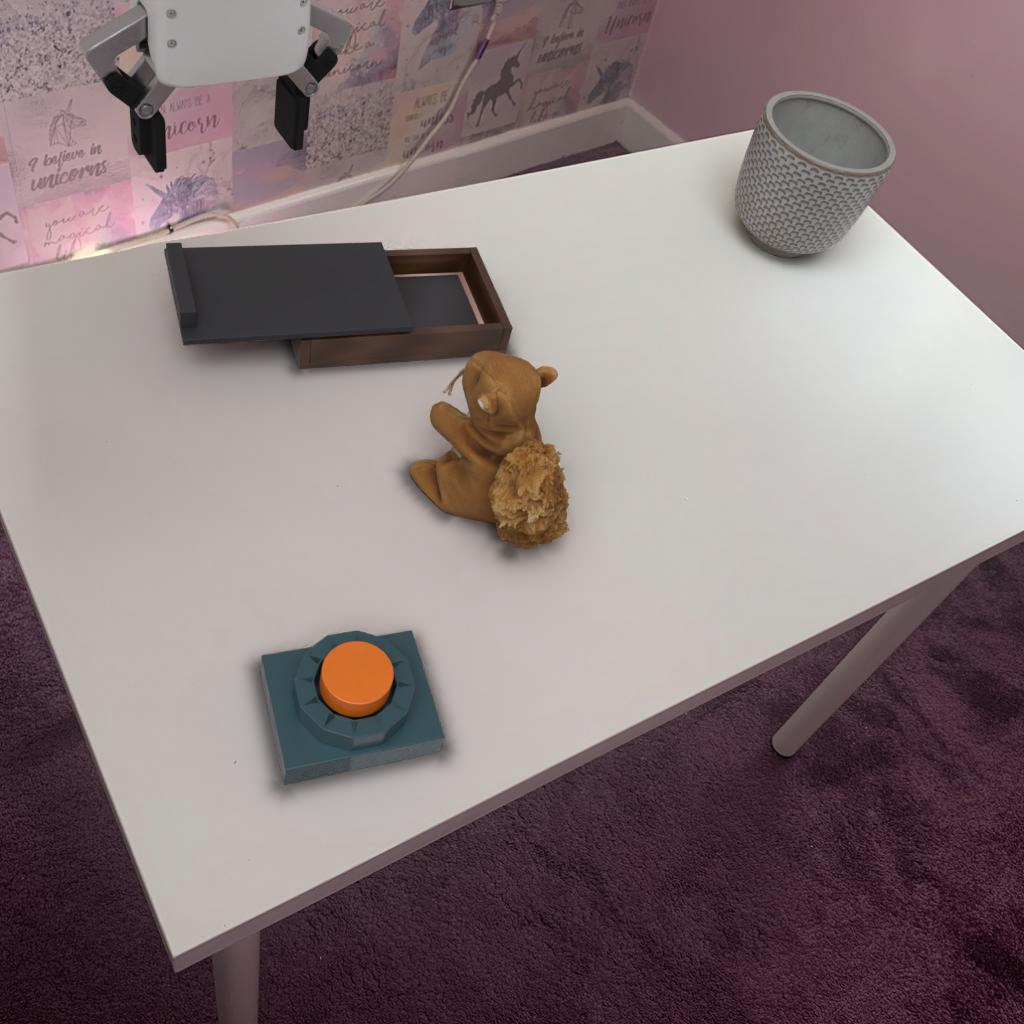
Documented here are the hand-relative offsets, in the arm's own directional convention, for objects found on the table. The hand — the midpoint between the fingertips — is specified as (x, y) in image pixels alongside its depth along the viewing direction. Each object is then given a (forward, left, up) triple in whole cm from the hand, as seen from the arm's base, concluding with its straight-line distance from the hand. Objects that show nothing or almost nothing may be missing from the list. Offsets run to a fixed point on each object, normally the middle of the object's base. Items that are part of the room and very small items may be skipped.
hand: (222, 149), depth 72 cm
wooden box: (+15, +2, -18) cm, 24 cm away
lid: (+6, +2, -15) cm, 16 cm away
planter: (+60, +11, -18) cm, 64 cm away
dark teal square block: (+3, -34, -18) cm, 39 cm away
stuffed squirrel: (+18, -19, -18) cm, 32 cm away
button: (+3, -34, -15) cm, 37 cm away
